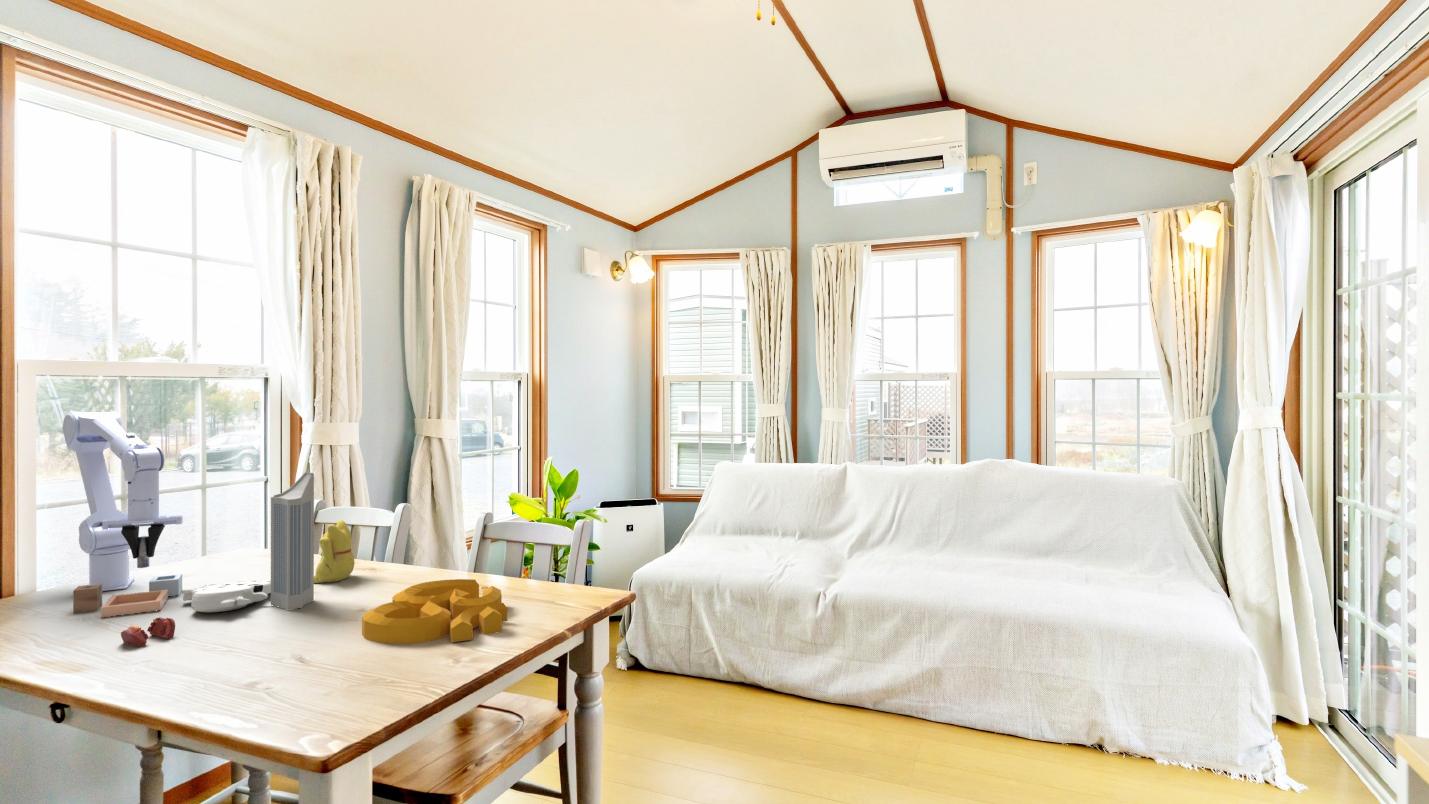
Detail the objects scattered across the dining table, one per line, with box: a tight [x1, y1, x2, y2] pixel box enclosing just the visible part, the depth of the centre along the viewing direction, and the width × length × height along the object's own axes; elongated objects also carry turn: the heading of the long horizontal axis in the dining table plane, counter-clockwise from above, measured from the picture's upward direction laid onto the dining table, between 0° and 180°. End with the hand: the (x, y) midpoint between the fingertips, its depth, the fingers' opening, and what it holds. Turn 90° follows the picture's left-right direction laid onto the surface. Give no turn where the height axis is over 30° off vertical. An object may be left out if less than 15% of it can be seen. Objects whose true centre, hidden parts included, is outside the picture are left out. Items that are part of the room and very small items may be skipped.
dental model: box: [120, 617, 176, 648], centre depth 136 cm, size 6×4×8 cm
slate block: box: [148, 573, 183, 597], centre depth 166 cm, size 6×6×4 cm
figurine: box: [314, 519, 355, 584], centre depth 179 cm, size 11×9×15 cm
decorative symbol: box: [361, 578, 508, 645], centre depth 150 cm, size 30×5×30 cm
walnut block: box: [72, 584, 103, 614], centre depth 154 cm, size 4×4×5 cm
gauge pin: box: [136, 535, 150, 569], centre depth 163 cm, size 2×2×7 cm
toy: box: [181, 580, 271, 613], centre depth 159 cm, size 22×5×20 cm
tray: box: [100, 590, 169, 619], centre depth 155 cm, size 10×10×2 cm
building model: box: [270, 471, 315, 611], centre depth 159 cm, size 8×8×30 cm
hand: (143, 556), depth 163 cm, fingers closed on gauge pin, 2 cm apart
